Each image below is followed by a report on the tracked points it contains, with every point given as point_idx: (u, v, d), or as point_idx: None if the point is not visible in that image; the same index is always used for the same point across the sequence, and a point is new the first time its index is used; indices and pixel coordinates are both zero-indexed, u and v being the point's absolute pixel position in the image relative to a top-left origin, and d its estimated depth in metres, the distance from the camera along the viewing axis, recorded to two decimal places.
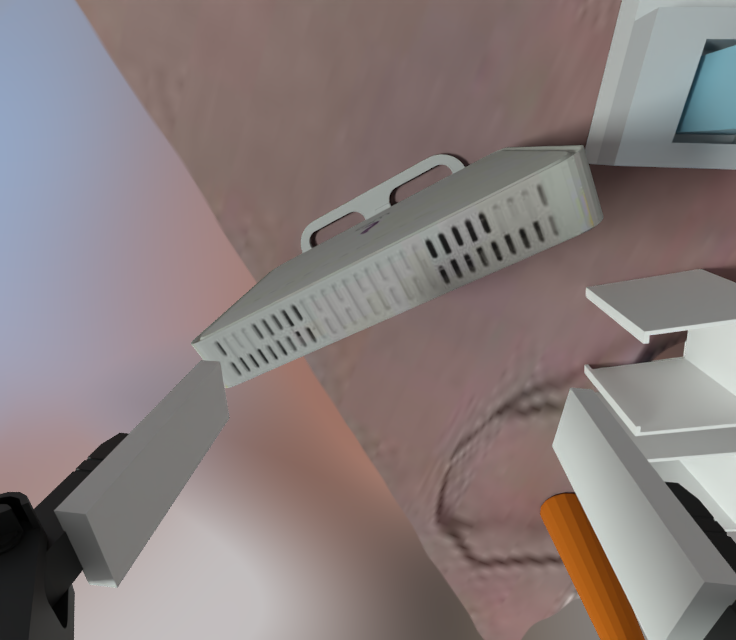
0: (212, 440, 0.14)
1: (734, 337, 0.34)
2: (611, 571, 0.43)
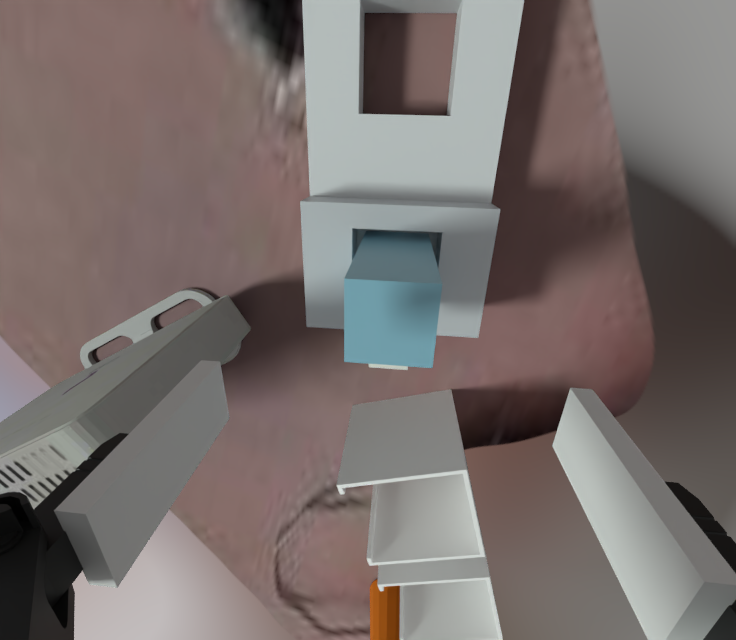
0: (212, 440, 0.14)
1: None
2: None
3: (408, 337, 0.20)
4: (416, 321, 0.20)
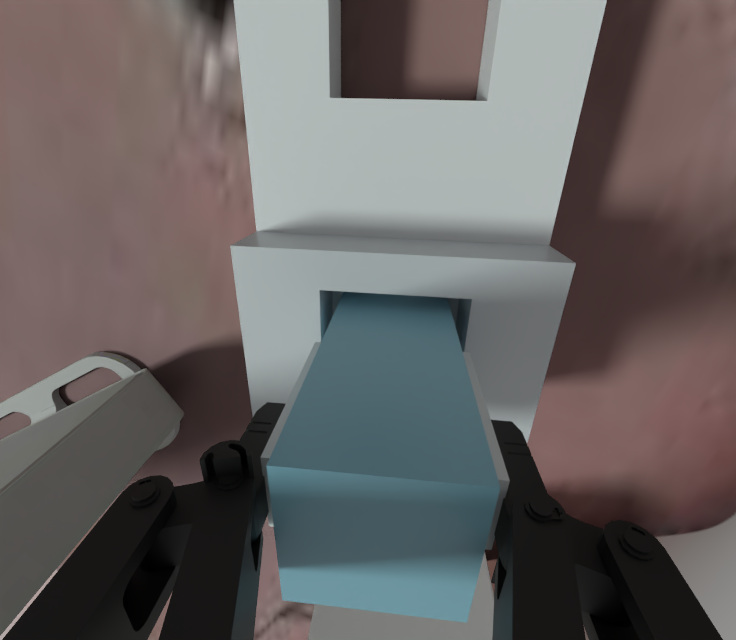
0: None
1: None
2: None
3: (415, 574, 0.09)
4: (436, 549, 0.09)
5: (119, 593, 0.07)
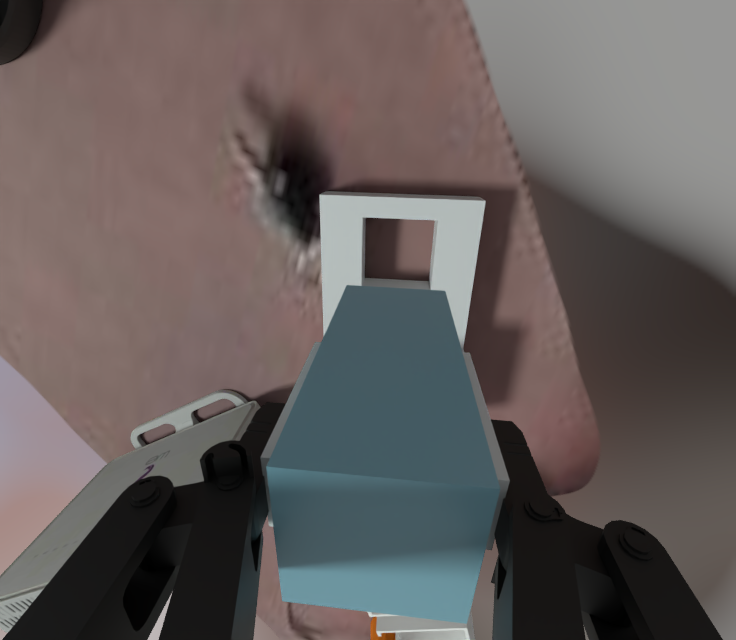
0: None
1: None
2: None
3: (415, 575, 0.09)
4: (436, 550, 0.09)
5: (119, 593, 0.07)
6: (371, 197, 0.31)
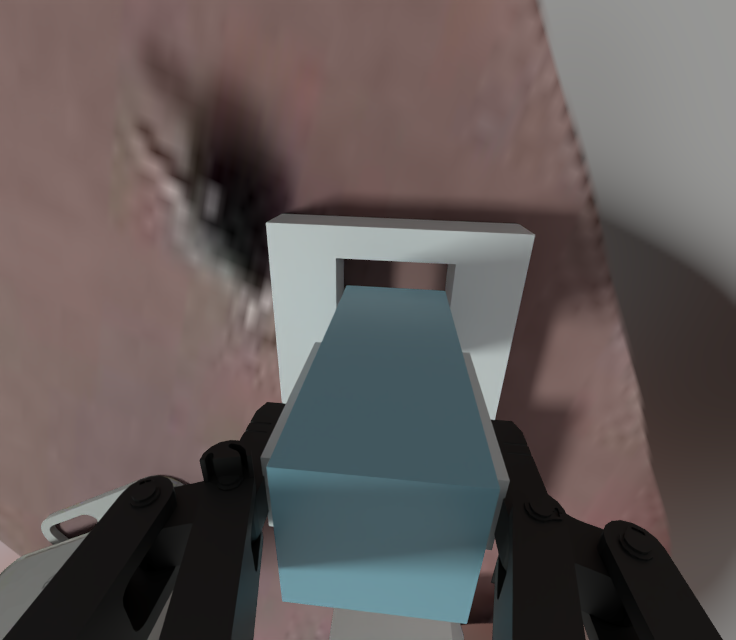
0: None
1: None
2: None
3: (415, 576, 0.09)
4: (436, 550, 0.09)
5: (118, 593, 0.07)
6: (349, 227, 0.19)
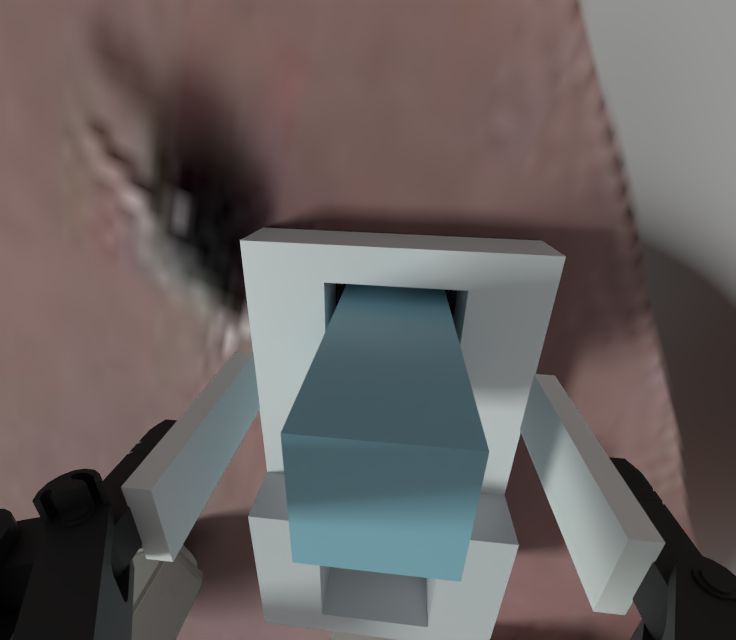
0: (246, 429, 0.14)
1: None
2: None
3: (414, 535, 0.10)
4: (432, 510, 0.10)
5: None
6: (339, 246, 0.16)
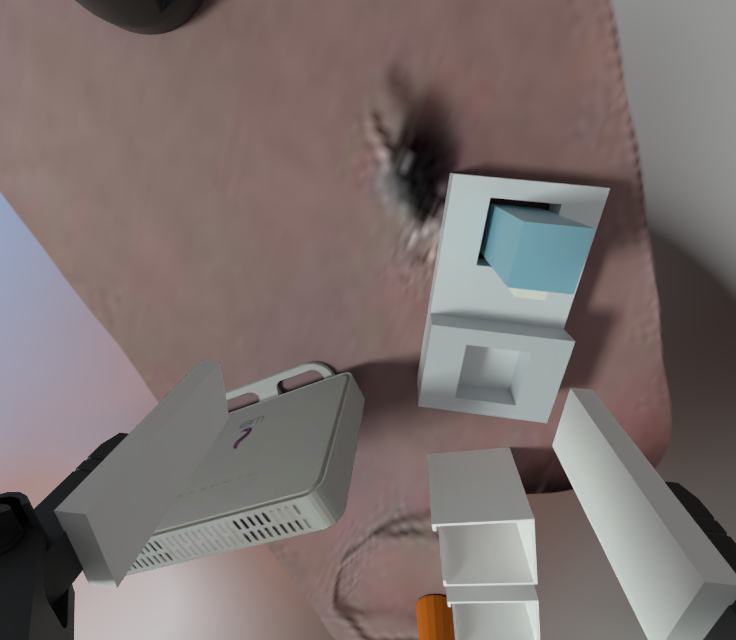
0: (212, 440, 0.14)
1: None
2: None
3: (560, 269, 0.28)
4: (570, 256, 0.27)
5: None
6: (502, 179, 0.34)
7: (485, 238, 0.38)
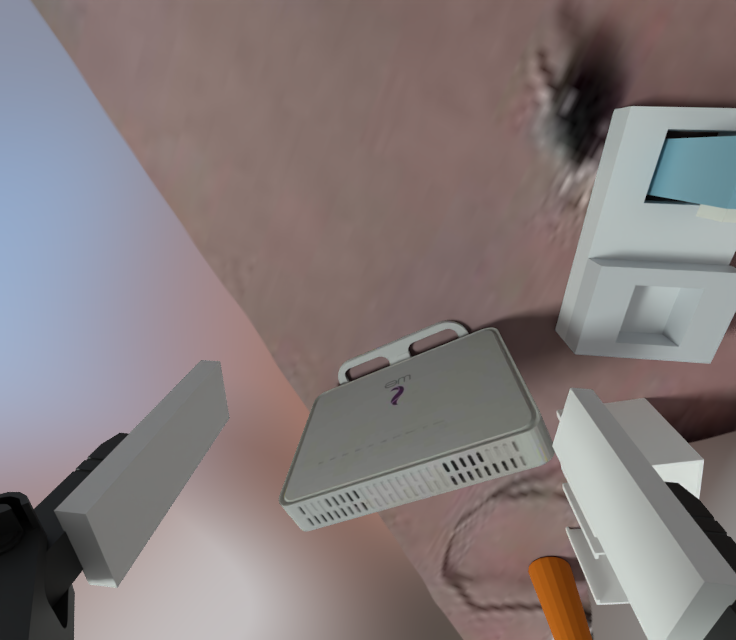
0: (212, 440, 0.14)
1: None
2: (583, 628, 0.54)
3: None
4: None
5: None
6: (683, 108, 0.33)
7: None
